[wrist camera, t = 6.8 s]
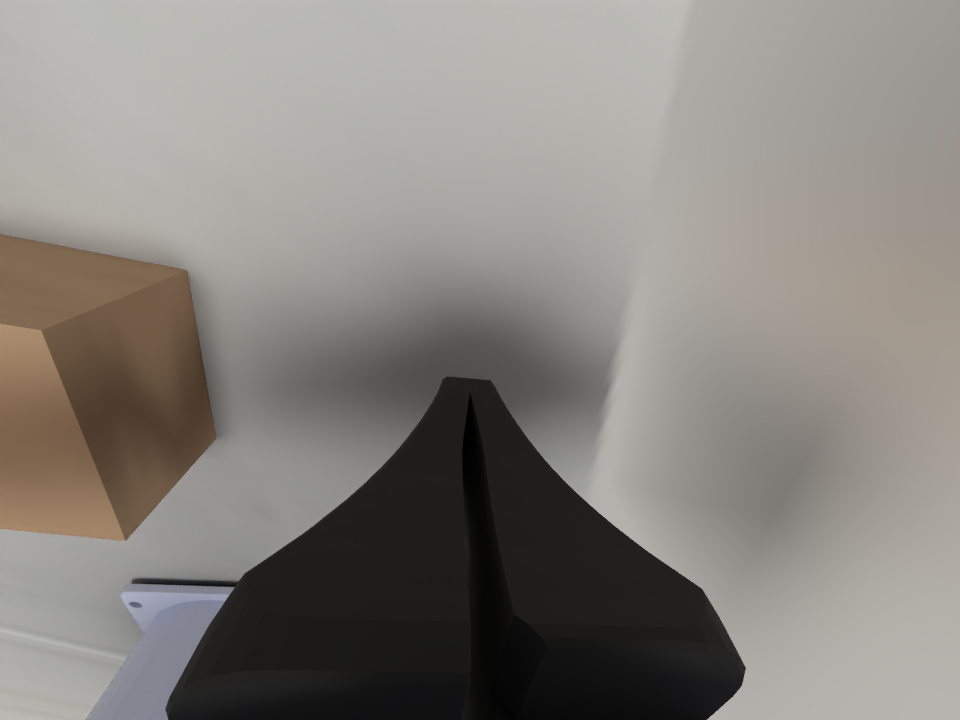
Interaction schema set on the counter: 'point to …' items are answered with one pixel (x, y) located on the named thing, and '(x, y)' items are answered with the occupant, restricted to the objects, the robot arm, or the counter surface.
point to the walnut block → (94, 389)
